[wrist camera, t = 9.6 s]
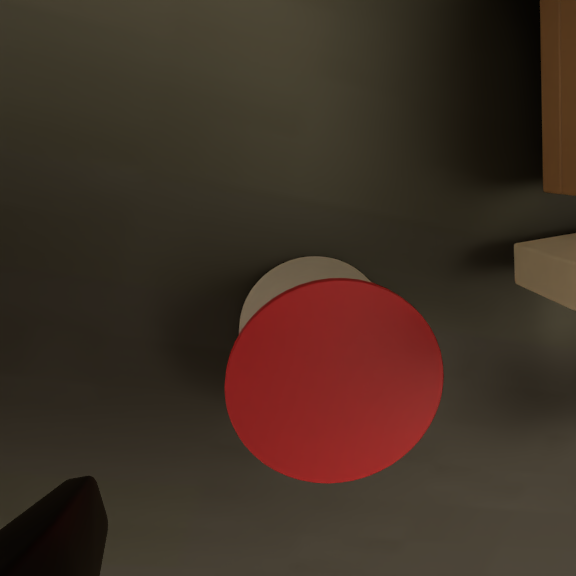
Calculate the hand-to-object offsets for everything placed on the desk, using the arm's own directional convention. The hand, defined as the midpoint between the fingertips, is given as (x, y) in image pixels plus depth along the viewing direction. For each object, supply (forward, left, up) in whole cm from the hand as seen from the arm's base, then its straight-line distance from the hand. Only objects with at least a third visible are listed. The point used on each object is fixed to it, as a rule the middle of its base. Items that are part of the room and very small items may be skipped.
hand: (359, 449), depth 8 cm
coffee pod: (0, 0, -6) cm, 7 cm away
